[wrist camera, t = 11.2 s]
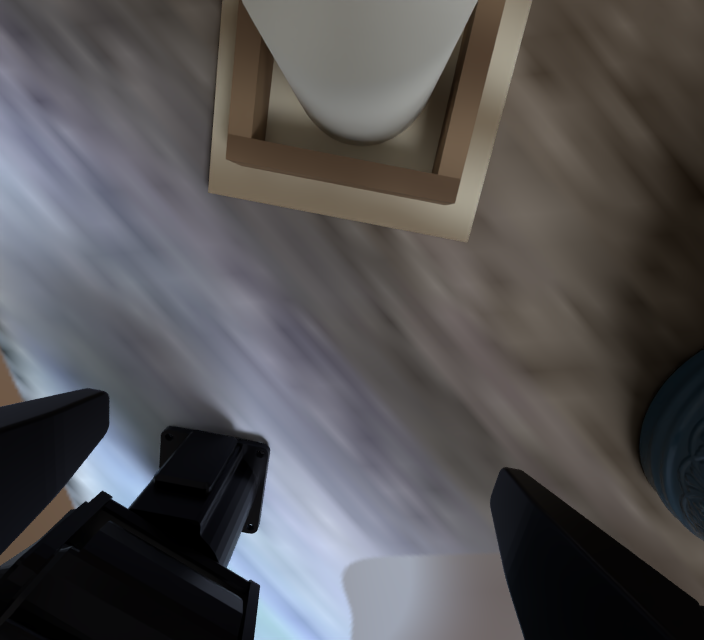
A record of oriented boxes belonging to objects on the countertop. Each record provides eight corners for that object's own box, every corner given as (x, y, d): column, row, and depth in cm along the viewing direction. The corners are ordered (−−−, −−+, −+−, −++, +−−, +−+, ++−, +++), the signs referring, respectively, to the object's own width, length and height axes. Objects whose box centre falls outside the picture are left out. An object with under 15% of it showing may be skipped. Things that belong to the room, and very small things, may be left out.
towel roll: (417, 158, 17) (459, 104, 9) (283, 131, 17) (210, 54, 9) (453, -4, 15) (542, -240, 7) (303, -34, 15) (235, -304, 7)
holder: (464, 241, 18) (479, 245, 16) (213, 193, 18) (188, 188, 16) (547, -74, 15) (584, -133, 12) (238, -135, 15) (212, -208, 12)
